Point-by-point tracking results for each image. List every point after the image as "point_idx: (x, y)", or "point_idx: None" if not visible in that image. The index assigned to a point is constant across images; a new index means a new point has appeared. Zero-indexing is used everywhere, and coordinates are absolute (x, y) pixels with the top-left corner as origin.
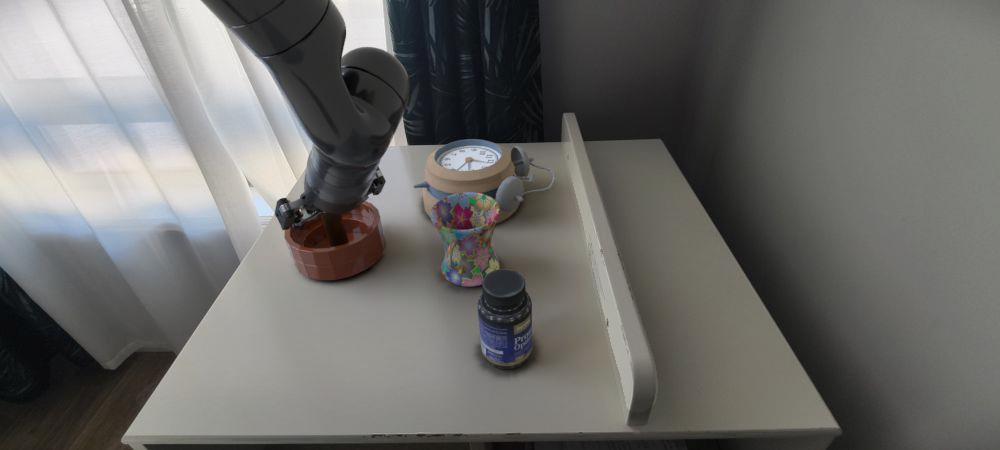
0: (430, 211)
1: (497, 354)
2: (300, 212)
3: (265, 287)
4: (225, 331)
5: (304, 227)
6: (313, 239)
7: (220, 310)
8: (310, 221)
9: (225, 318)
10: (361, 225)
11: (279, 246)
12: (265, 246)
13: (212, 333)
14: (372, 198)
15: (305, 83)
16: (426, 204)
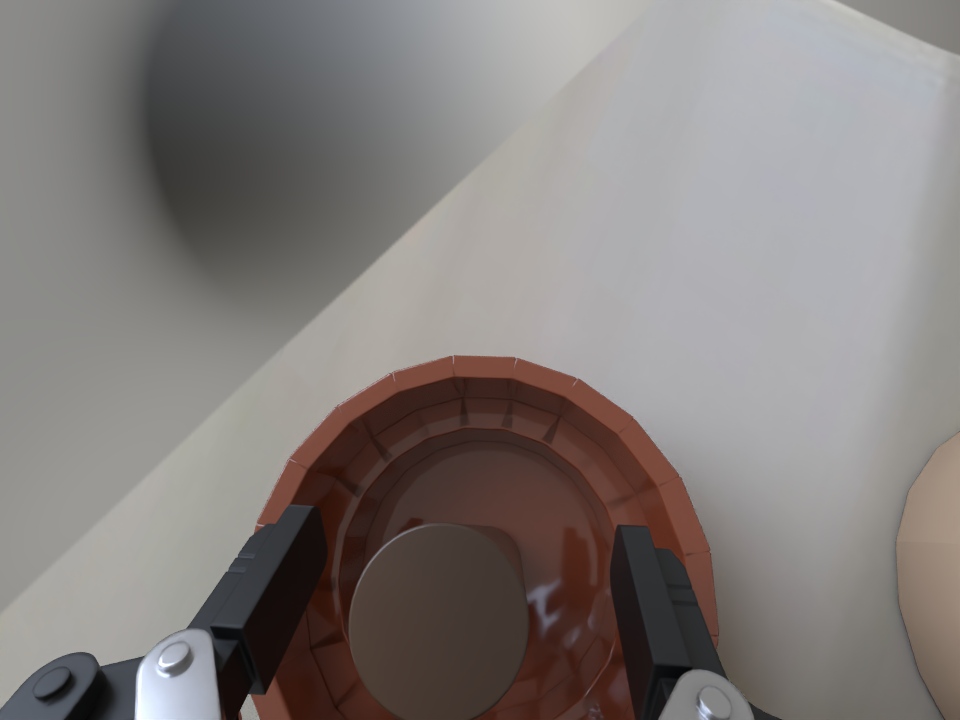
0: (935, 627)
1: None
2: (249, 645)
3: (218, 540)
4: (32, 669)
5: (311, 596)
6: (424, 451)
7: (80, 548)
8: (436, 399)
9: (67, 601)
10: (607, 527)
11: (352, 357)
12: (322, 328)
13: (8, 645)
14: (726, 302)
15: None
16: (946, 588)
